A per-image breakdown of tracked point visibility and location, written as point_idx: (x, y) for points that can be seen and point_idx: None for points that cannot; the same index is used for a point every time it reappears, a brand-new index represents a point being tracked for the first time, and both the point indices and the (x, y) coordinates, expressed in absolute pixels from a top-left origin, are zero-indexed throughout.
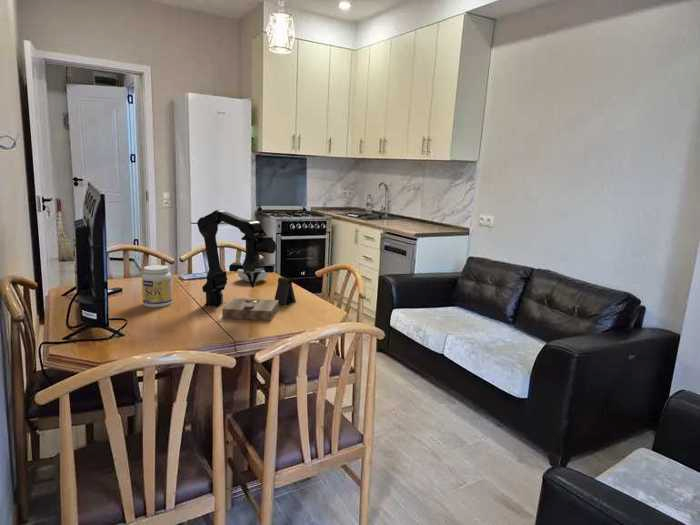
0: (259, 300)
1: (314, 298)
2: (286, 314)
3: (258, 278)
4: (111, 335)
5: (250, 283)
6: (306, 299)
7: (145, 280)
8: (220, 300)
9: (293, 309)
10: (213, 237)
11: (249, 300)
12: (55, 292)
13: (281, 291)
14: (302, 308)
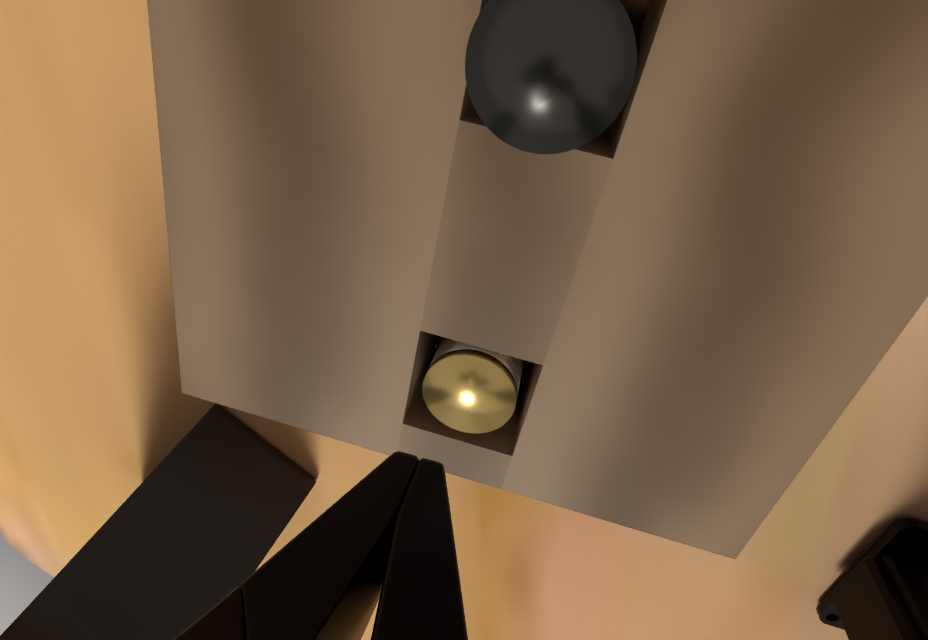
0: (408, 422)
1: (41, 538)
2: (114, 124)
3: None
4: None
5: (449, 547)
6: (87, 530)
7: None
8: (892, 591)
9: (99, 297)
10: None
11: (531, 88)
12: None
13: (166, 567)
14: (31, 316)
